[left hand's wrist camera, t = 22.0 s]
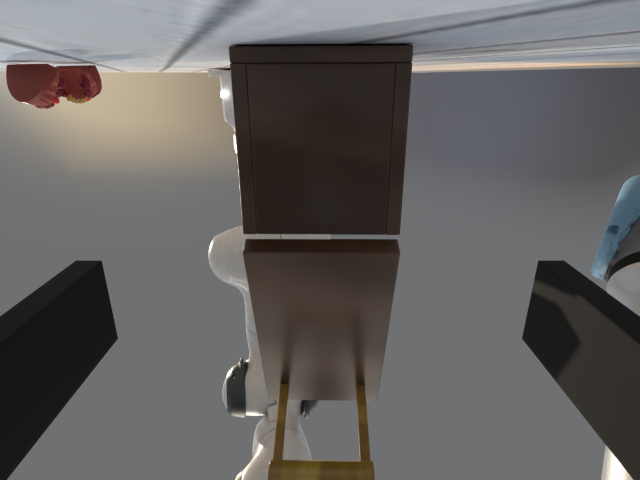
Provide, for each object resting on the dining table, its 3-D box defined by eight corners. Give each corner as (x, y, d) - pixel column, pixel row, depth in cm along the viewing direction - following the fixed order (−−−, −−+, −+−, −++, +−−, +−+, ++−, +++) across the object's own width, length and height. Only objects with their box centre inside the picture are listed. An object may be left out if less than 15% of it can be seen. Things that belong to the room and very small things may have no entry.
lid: (376, 387, 36) (387, 502, 29) (269, 386, 36) (256, 500, 29) (397, 239, 25) (423, 368, 18) (245, 238, 25) (214, 366, 18)
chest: (378, 58, 36) (372, 175, 39) (270, 59, 36) (275, 175, 39) (413, 44, 21) (399, 234, 24) (228, 45, 21) (243, 234, 25)
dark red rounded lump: (76, 106, 47) (6, 110, 40) (67, 66, 46) (-8, 63, 39) (113, 105, 45) (47, 109, 38) (105, 63, 44) (34, 60, 37)
